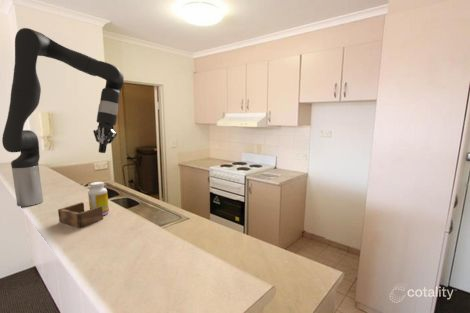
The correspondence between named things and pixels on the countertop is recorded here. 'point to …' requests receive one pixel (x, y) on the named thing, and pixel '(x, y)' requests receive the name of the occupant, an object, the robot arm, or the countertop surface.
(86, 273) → the countertop surface
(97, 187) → the supplement bottle
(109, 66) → the robot arm
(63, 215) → the walnut bay
